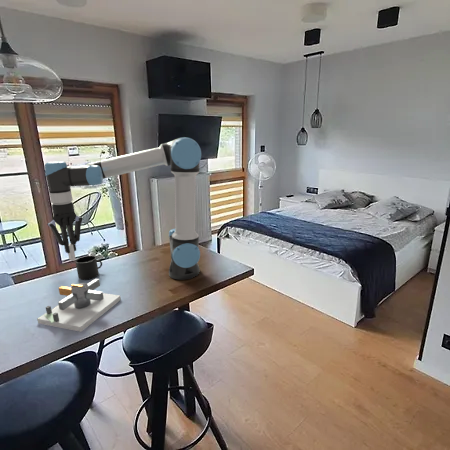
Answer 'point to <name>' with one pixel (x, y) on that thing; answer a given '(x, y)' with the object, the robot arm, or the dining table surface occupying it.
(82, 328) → the stand plate
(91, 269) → the mug
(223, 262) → the dining table surface
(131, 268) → the dining table surface
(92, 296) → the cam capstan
